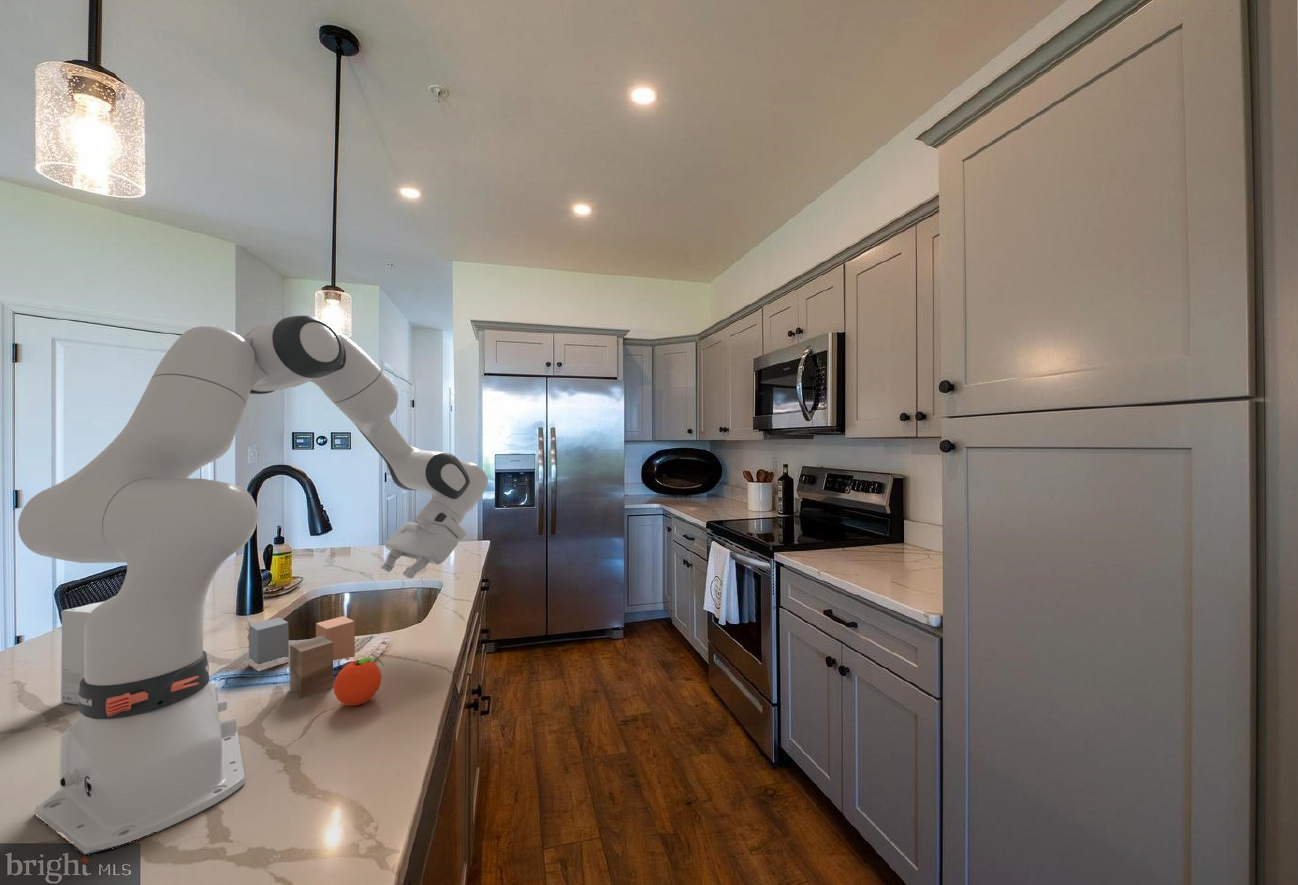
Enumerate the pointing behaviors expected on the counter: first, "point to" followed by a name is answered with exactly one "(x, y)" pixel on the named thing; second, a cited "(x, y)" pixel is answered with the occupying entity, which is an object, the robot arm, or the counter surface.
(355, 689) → the clementine
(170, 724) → the robot arm
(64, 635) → the skincare box
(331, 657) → the walnut block
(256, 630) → the slate-grey block
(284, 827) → the counter surface
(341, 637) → the terracotta block
